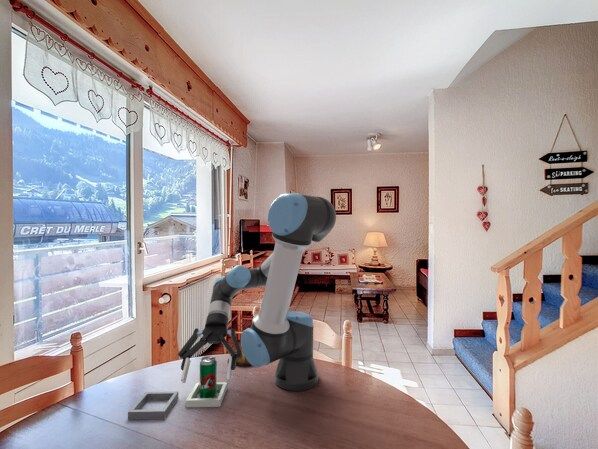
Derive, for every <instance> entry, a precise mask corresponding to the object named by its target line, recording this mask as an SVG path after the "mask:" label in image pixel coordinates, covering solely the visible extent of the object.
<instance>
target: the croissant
mask: <svg viewBox="0 0 598 449" xmlns="http://www.w3.org/2000/svg"><path fill="white" fill-rule="evenodd" d="M241 352H242V355H243V356H242V358H238V359H237V360H236V366H249V365H250V366H252V365H251V364H250V363H249V362H248V360H247V359H246V358H245V356H244V353H243V351H241ZM227 364H229V358H227Z"/></svg>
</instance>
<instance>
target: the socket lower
mask: <svg viewBox="0 0 598 449" xmlns="http://www.w3.org/2000/svg"><path fill="white" fill-rule="evenodd" d="M227 389H228V382H227V381H226V382H225V381H224V382H222V381H221V382H218V381H217V387H216V391H219V393H218V396H217V397H215V398H200V397H198V398H196V396H197V394H198V393H199V392H200V382H196V383H195V384H194V386H193V388H192V389H191V391H190V393H189V395H188V396H187V398H186V399H185V408H216V407H217V408H220V407H221V405H222V403H223V401H224V398H225V395H226V392H227Z"/></svg>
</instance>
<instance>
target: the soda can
mask: <svg viewBox="0 0 598 449" xmlns="http://www.w3.org/2000/svg"><path fill="white" fill-rule="evenodd" d="M217 366H218V361H217V358H216V356H214V355H206V356H202V358H201V359H200V362H199V383H200V391H199V392H198V393H199V395H198V396H199V397H198V398H216V396H217V390H216V387H217V382H218V381H217V376H218V375H217V373H218V372H217V371H218V370H217V369H218V368H217Z"/></svg>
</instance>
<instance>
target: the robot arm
mask: <svg viewBox="0 0 598 449" xmlns="http://www.w3.org/2000/svg"><path fill="white" fill-rule="evenodd" d="M267 213H268V214H267V222H268V228H269V229H270V231H272V234H271V237H272V238H273V240H274V242H275V243H274V248H273V252H272V253H271V254H270V255H269V256H267V258H266V259H265V260H263V262H262V263H261V264H260V265H259V266H258V267H253V268H252V267H251V268H247V267H246V266H244V265H243V264H239V265H238V264H237V265H235V266H234V267H232V268H231V269H230V270H229V271H228V272H227V273H226V274H225V276H224V275H223V276H221V277H218V278H216V279H215V281H214V285H213V287H212V294H211V298H210V302H209V306H208V311H207V316H206V320H205V324H204V328H203V329H198V327H197V328H195V329H194V330H193V332H192V335H191V336H190V337H189V338H188V340H187V341H186V342H185V344H184V345H183V347H182V348H181V349H180V350H179V351H178V354H177V356H178V357H179V359H181V360H182V362H181V365H180V369H181V371H182V372H181V373H182V374H181V377H180V381H181V382H182V384H186V382H187V378H188V374H189V370H190V366H191V358H192V357H193V356H194V355H196V353H198V351H200V350H201V349H202V347H204V346H206V345H207V344H209V345H213V344H218V345H219V344H220V343H221V344H222V345H223V347H224V349H225V350H226V351H227V353H228V354H229V355H230V356H229V358H228V359H229V363H227V371H226V372H227V373H226V379H225V380H226V382H227V383H231V378H232V373H233V371H235V370H236V366H237V365H236V360H237V359H238V358H242V356H243V355H242V352H243V353H244V356H245V358H246V359H247V360H248V362H249V363H250V364H251V365H250V366H253V367H256V368H260V367H263V366H268V365H269V364H272V363H273V362H277V361H278V363H277V365H276V369H275V371H274V383H275V384H276V385H277V386H278V387H279V388H281V389H284V390H287V391H291V392H292V391H293V392H299V391H300V392H301V391H306V390H307V391H308V390H310V389H312V388H314V387H315V386H316V385H317V384H318V382H319V372H318V369H317V364H316V362H315V359H314V318H313V316H312V315H311V314H309V313H306V312H304V311H298V310H297V311H294V310H290V305H291V301H292V297H293V293H294V292H295V291H294V290H295V285H296V282H297V277H298V273H299V271H300V266H301V263H302V257H303V255H304V253H305V251H307V249H309V248H310V247H311V246H312V245H313V244H314V243H320V242H321V241H323V239H325V238H326V237H327V236H328V235H329V234H330V232H332V230H333V228H334V227H335V225H336V222H337V221H336V220H337V212H336V208H335V207H334V205H333V203H331V201H329V200H328V199H326V198H325V197H323V196H318V195H317V196H315V195H314V196H313V195H307V194H302V193H297V192H293V193H291V192H290V193H283V194H279V196H278V197H276V198H275V199H274V200H273V201H272V203H271V204H270V206H269V209H268V211H267ZM257 288H264V292H263V296H262V300H261V303H260V304H261V306H260V309H259V312H258V313H256V314H254V316H253V318H252V322H251V326H250V327H247V328H246V329H244V330H243V331H242V332H241V334H240V344H239V342H238V339H237V337H236V329H235V327H232V328H231V329H228V324H229V317H230V313H231V306H232V301H233V300H232V299H233V297H234V296H236V295H237V294H238V293H240V292H241V291H244V290H245V291H246V290H250V289H257ZM201 335H202V336H201ZM228 335H229V337H231V340H232V342H233V345H234V347H235V350H236V352H235V351H234V349H232V347H231V346H230V344H229V342H228V341H227V340H226V338H225V337H226V336H228ZM199 337H201V338H200V339H199ZM198 339H199V340H198ZM197 340H198V341H197ZM196 341H197V342H196ZM240 346H241V347H240Z"/></svg>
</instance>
